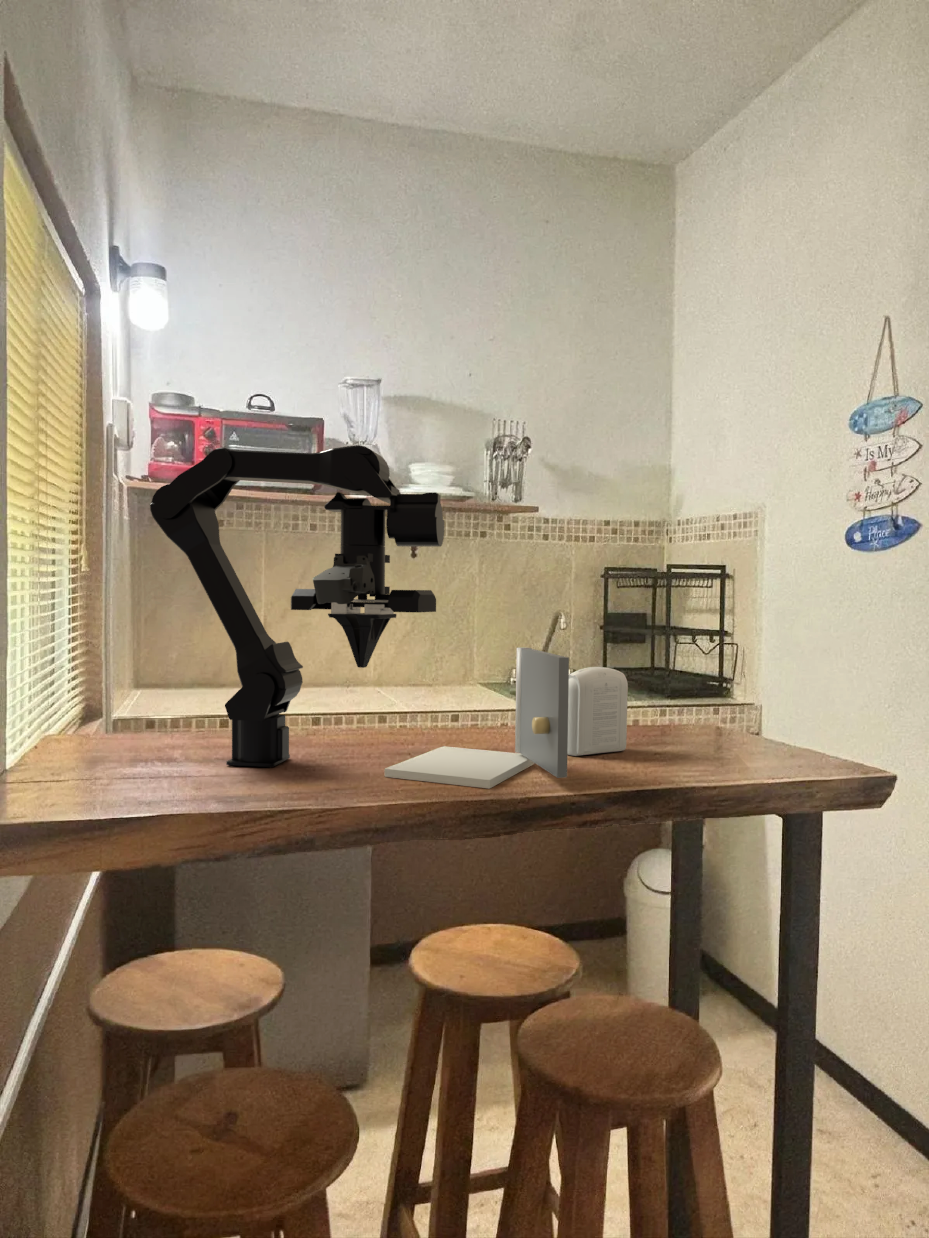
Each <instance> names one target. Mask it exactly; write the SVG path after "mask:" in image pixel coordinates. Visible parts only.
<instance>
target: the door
mask: <svg viewBox="0 0 929 1238" xmlns="http://www.w3.org/2000/svg"><path fill="white" fill-rule="evenodd" d="M515 659H516V664H515V665H516V667H515V669H516V670H515V672H516V673H515V674H516V675H515V727H514V728H515V730H514V731H515V732H514V733H515V736H514V737H515V739H514V740H515V741H514V742H515V744H514V747H515V748H514V750H515V751H514V753H521V754H522V755H524V756H525V757H527V758H528V759H530V760H531V761H533V762H534V763H535V764H536V765H537V766H539V767H540V768H541V769H543V770H545V771H546V772H548V773H550V774H551V775H552V776H554V777H556V778H557V779H559V778H560V779H562V778H564V779H565V778H568V754H567V752H568V690H569V674H570V657H568V656H564V655H558V654H555V653H551V652H546V651H542V650H539V649H533V648H532V647H516V657H515Z"/></svg>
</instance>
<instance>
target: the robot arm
mask: <svg viewBox="0 0 929 1238" xmlns="http://www.w3.org/2000/svg"><path fill="white" fill-rule="evenodd" d="M390 475H391V474H390V467H389V465H388V463H387V461H386V460H385V459H384V457H383V456H382V455H380V454H378V453H377V452H376V451H373V450H372V449H370V448H369V447H367V446H365V445H360V444H357V445H356V444H355V445H349V446H348V445H347V446H342V447H333V448H330V449H327V450H322V451H320V452H319V451H318V452H291V451H290V452H289V451H271V450H270V451H269V450H267V451H266V450H247V449H245V450H244V449H230V448H227V447H224V446H223V447H217V448H215V449H213V450H212V451H210V452H209V453H208V454H207V455H206V456H205V457H204V458H203V459H202V460H201V461H199V462H198V463H196V464H194V465H193V466H191V467H189V468H188V469H186V470H185V471H183V472H181V473H179V474H178V475H177V476H176V477H175V478H174V479H173V480H172V481H171V482H170V483H168V484H165V485H163V486H162V485H161V487H159V488H158V489H157V490H156V491H155V493H154V494H153V496H152V498H151V502H150V504H149V510H150V515H151V516H152V519H154V521H155V523H156V524H157V525H158V526H159V528H160V529H161V531H162V532H163V533H164V534H165V536H166V537H167V538H168V539H169V540H170V541H171V542H172V543H173V544H174V545H176V546H177V548H179V549H180V550H181V551H182V552H183V553H184V554H185V556H186V557H187V559H188V560H189V563H190V564H191V566H192V568H193V570H194V572H195V573H196V575H197V578H198V579H199V581H200V584H201V585H202V588H203V589H204V591H205V593H206V595H207V597H208V599H209V601H210V603H211V606H212V607H213V608H214V611H215V612H216V615H217V616H218V618H219V620H220V623H221V624H222V626H223V627H224V630H225V632H226V633H227V636H228V637H229V639H230V641H231V643H232V646H233V647H234V650H235V657H236V671H237V672H236V673H237V675H238V678H239V682H240V684H241V687H240V689H239V690H238V691H237V692H236V693H235V694H233V695H232V696H231V698H230V699H228V700H227V702H226V703H225V704H224V708H225V710H226V713H227V716H228V720H230V721H231V758H230V759H228V760H226V761H225V762H226V766H238V767H239V766H243V767H264V768H265V767H266V768H273V767H276V766H278V765H279V764H282V763H283V762H285V761H287V760H288V759H290V758H291V755H290V727H289V725H286V714H282V713H287V712H288V709H289V706H290V704H291V701H292V700H293V699H295V698H296V697H297V696H298V694H299V693H300V692H301V688H302V684H303V675H302V672H301V671H300V669H303V668H304V666H303V664H301V663H300V662H299V661H298V659H297V658H296V656H295V654H294V650H293V647H292V646H291V643H290V642H289V641H281V642H276V641H275V640H274V639H273V638H271V636H270V635H269V634H268V633H267V631H266V628H265V627H264V625H263V623H262V621H261V620H260V617H259V614H258V613H257V611H256V610H255V608H254V605H253V604H252V601H251V600H250V597H249V596H248V594H247V592H246V590H245V588H244V587H243V585H242V583H241V581H240V579H239V577H238V575H237V572H236V571H235V569H234V567H233V565H232V563H231V562H230V560H229V558H228V555H227V554H226V552H225V549H224V548H223V546H222V544H221V540H220V525H219V520H218V517H217V513H216V510H217V509H219V507H220V506H222V505H223V504H224V502H225V501H226V499H227V498H228V496H229V495H230V493H232V490H233V488H234V487H235V486H236V485H237V484H238V483H239V482H240V481H246V482H247V481H248V482H249V481H250V482H264V483H265V482H269V483H287V484H288V483H289V484H290V483H291V484H303V485H304V484H308V485H309V484H310V485H320V486H325V487H328V488H333V489H337V490H341V491H344V492H348V493H353V494H356V495H360V496H364V497H365V498H364V497H363V498H356V497H355V498H353V497H352V498H350V497H349V498H348V497H346V495H345V494H344V493H342V492H336V493H335V494H334V496H333V497H332V498H331V499H330V500H329V501H327V502H326V503H325V504H324V508H323V509H325V511H326V510H327V511H330V512H331V513H332V512H333V513H340V553H334V557H333V565H332V567H330V568H327V569H326V570H323V571H322V572H320V573H319V574H317V575H315V576H314V577H313V578H312V583H313V588H295V590H294V591H293V593H292V595H291V596H290V610H291V611H311V610H330V613H327V616H328V617H329V618H331V619H332V618H333V619H334V620H335V621H336V622H337V623H338V624H339V625H340V626H341V628H342V629H343V632H344V634H345V636H346V637H347V641H348V644H349V647H350V649H351V654H352V655H353V657H354V661H355V663H356V666H357V668H361V669H363V668H367V667H368V665H369V662H370V661H371V658H372V656H373V653H374V651H375V649H376V647H377V645H378V642H379V641H380V637H382V634H383V633H384V630H385V629H386V627H387V626H388V624H389V622H390V621H391V619H396V618H397V613H437V597H436V595H435V593H434V592H433V590H431V589H421V590H420V589H391V590H390V587H391V586H386V564H390V563H391V555H389V554H386V533H387V537H388V539H389V540H391V539H392V540H393V539H394V543H395V544H396V547H427V548H428V547H431V548H433V547H437V548H438V547H439V548H440V547H442V546H443V544H444V538H445V520H444V518H443V516H444V515H443V508H442V504H441V499H442V498H441V494H440V493H438V492H425V493H419V494H418V493H414V494H413V493H411V494H410V493H409V494H408V493H405V494H404V493H402V494H401V492H400V489H398V488H397V487H396V485H395V484H394V482H393V481H392V480H391V479H390ZM369 496H370V497H371V496H372V497H373V498H375V499H376V500H377V499H378V500H379V501H382V502H384V503H387V504H389V505H372V504H371V501H370V500H369V498H367V497H369ZM368 595H369V597H372V598H373V597H374V599H369V598H368ZM361 608H363V609H364V612H361Z"/></svg>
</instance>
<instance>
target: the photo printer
mask: <svg viewBox="0 0 929 1238" xmlns="http://www.w3.org/2000/svg"><path fill="white" fill-rule="evenodd" d="M628 689H629V684H628V680H627V677H626V675H625V673H624V672H622V671H619V670H617V669H616V668H615V669H614V668H611V667H605V666H604V667H603V666H589V667H585V668H580V669H577V670H576V671H573V672H570V673H569V690H568V752H567V756H573V757H579V756H587V755H596V754H605V753H606V754H607V753H613V752H614V753H615V752H624V751H625V750H626V749H627V736H628V735H627V734H628V733H627V730H628V728H627V726H628V725H627V724H628V693H629V692H628V691H629V690H628Z"/></svg>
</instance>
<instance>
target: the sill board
mask: <svg viewBox="0 0 929 1238" xmlns="http://www.w3.org/2000/svg"><path fill="white" fill-rule="evenodd" d="M535 764H536V763H534V762H533V761H531V760H530V759H528V758H527V757H525V756H524V755H522V754H521V753H517V752H508V751H507V752H506V751H499V750H490V749H489V750H486V749H477V748H476V749H475V748H465V747H457V746H455V747H454V746H445V745H443V746H440V747H437V748H434V749H432V750H430V751H428V752H424V753H422V754H420V755H417V756H415V757H414V756H413V757H411V758H409V759H406V760H403V761H402V762H398V763H396V764H393V765H390V766H388V767H385V768H384V777H385V778H393V779H402V780H410V781H419V782H420V781H421V782H427V783H428V782H430V783H435V784H444V785H445V784H446V785H453V786H454V785H455V786H462V787H463V786H465V787H472V788H481V789H482V788H483V789H492V788H494V787H495V786H496V785H499V784H500V783H502V782H504V781H506V780H509V778H512V777H513V776H515V775H517V774H518V773H520V772H522V771H523V770H526V769H528V768H529V767H531V766H533V765H535Z"/></svg>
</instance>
